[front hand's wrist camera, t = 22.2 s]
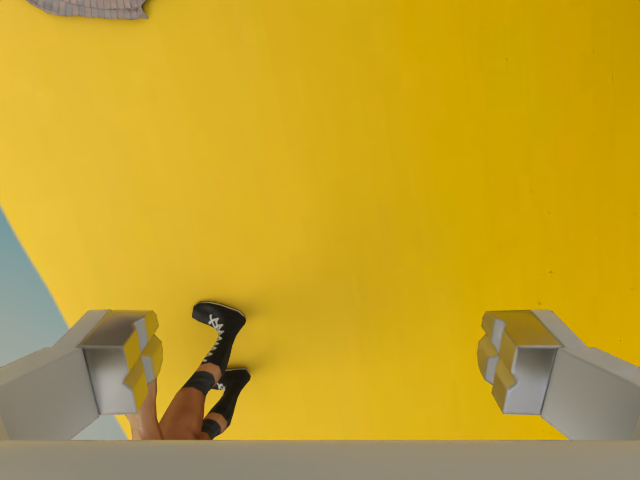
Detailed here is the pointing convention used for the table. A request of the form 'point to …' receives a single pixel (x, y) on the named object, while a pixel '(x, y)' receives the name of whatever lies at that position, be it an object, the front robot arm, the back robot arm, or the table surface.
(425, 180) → the table surface
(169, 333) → the table surface
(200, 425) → the figurine
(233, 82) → the table surface
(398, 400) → the table surface
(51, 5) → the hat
